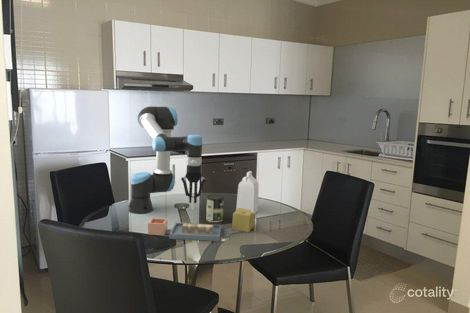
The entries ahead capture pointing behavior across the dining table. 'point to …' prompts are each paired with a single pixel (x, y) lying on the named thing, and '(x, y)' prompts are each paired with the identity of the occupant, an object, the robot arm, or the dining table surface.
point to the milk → (248, 193)
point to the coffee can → (214, 208)
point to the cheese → (243, 220)
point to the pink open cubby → (157, 226)
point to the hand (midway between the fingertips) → (192, 208)
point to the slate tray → (178, 234)
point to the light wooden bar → (197, 228)
